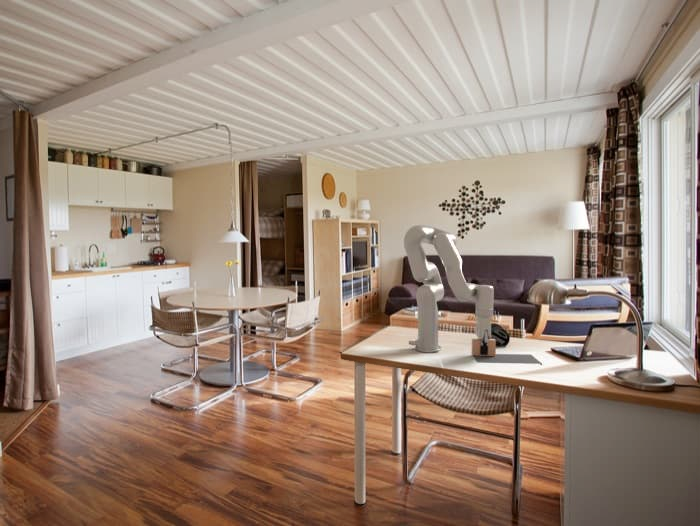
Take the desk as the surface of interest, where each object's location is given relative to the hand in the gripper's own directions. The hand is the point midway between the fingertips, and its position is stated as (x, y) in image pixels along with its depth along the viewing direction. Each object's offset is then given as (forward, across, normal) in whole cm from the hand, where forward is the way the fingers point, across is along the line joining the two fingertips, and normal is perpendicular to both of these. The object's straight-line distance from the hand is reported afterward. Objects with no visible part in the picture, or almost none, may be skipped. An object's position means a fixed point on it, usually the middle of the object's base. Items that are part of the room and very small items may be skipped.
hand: (483, 353), depth 182 cm
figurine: (+2, -27, +12) cm, 30 cm away
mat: (+1, +3, +9) cm, 9 cm away
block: (+1, 0, 0) cm, 1 cm away
